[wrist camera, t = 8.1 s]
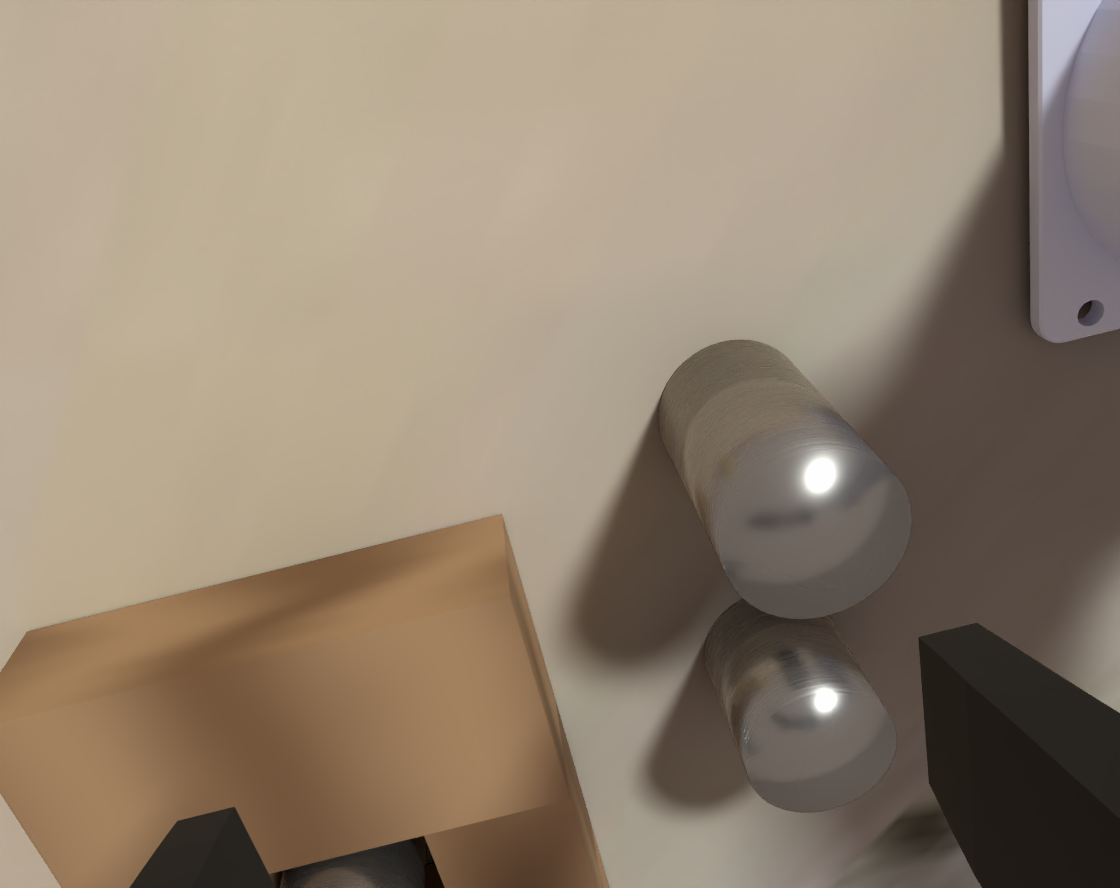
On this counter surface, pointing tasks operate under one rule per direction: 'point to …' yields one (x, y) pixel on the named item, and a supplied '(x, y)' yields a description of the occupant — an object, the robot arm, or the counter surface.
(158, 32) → the counter surface
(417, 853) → the pin tall
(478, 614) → the hole block
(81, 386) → the counter surface
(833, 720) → the pin short
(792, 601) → the pin medium
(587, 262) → the counter surface
